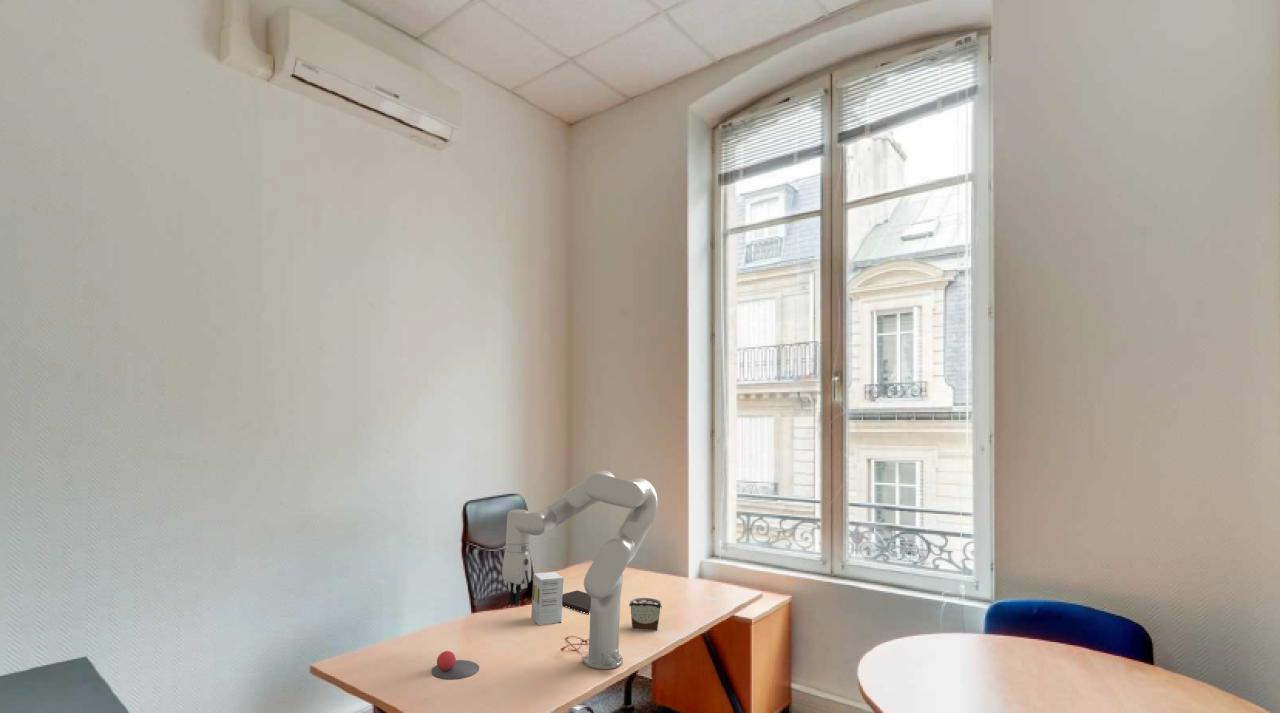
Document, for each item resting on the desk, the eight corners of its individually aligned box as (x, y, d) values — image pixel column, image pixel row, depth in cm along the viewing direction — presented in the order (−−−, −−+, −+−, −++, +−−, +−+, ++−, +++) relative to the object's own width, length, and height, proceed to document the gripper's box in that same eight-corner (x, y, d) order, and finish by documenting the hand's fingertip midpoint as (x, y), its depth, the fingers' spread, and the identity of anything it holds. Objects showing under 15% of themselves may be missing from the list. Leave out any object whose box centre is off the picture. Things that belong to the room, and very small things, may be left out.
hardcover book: (577, 595, 280) (577, 590, 280) (616, 607, 265) (616, 601, 265) (549, 603, 267) (549, 597, 268) (588, 616, 252) (588, 610, 253)
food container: (662, 625, 242) (663, 598, 243) (661, 631, 236) (662, 603, 237) (629, 623, 243) (630, 596, 244) (628, 629, 237) (629, 601, 238)
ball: (445, 658, 191) (447, 676, 192) (458, 649, 196) (460, 666, 196) (431, 655, 194) (433, 672, 194) (445, 646, 199) (447, 663, 199)
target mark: (485, 673, 193) (485, 673, 193) (438, 682, 186) (438, 682, 186) (471, 657, 205) (471, 657, 205) (426, 665, 198) (426, 665, 198)
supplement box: (530, 618, 246) (532, 573, 247) (553, 615, 250) (555, 571, 251) (538, 626, 237) (540, 579, 239) (562, 623, 241) (564, 577, 243)
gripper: (540, 549, 213) (537, 606, 212) (511, 542, 223) (508, 596, 221) (523, 553, 207) (520, 611, 206) (494, 545, 217) (491, 601, 215)
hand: (514, 603), depth 214 cm, fingers closed
